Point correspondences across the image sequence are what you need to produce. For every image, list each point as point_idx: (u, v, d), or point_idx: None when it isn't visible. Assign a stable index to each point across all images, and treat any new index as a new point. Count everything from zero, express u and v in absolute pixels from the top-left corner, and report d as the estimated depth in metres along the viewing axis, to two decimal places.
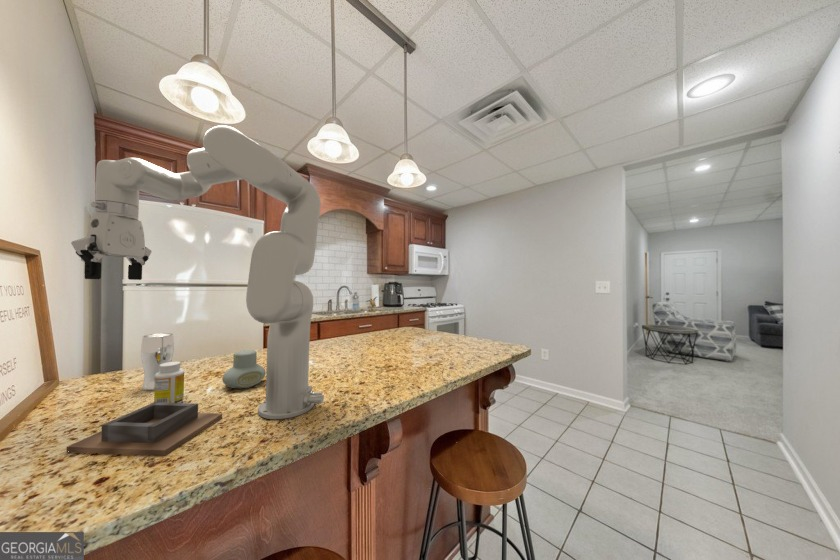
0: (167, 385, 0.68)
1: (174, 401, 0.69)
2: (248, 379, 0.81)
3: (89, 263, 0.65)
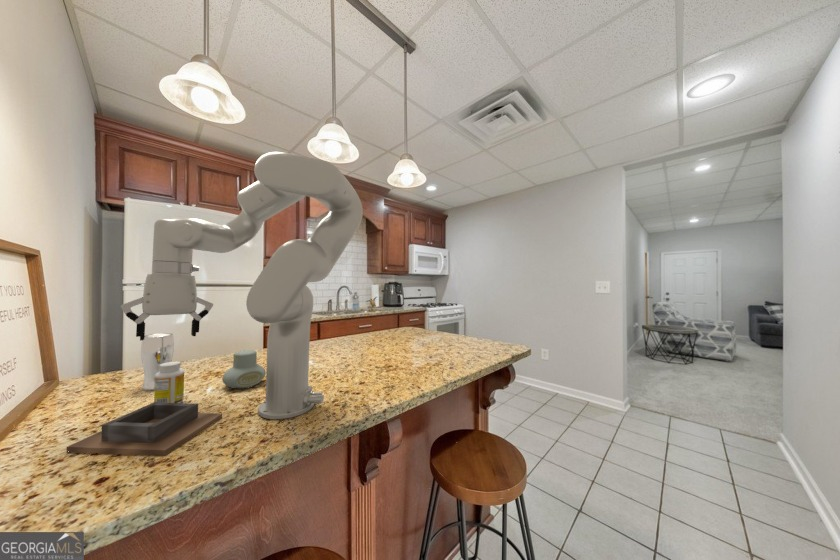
0: (167, 385, 0.68)
1: (174, 401, 0.69)
2: (248, 379, 0.81)
3: None
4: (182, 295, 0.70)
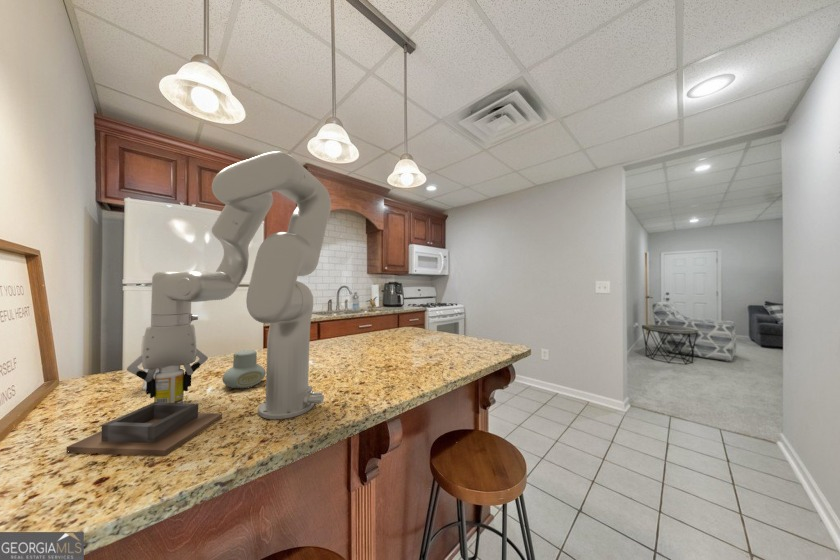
0: (167, 385, 0.68)
1: (174, 401, 0.69)
2: (248, 379, 0.81)
3: (190, 374, 0.73)
4: (181, 347, 0.70)
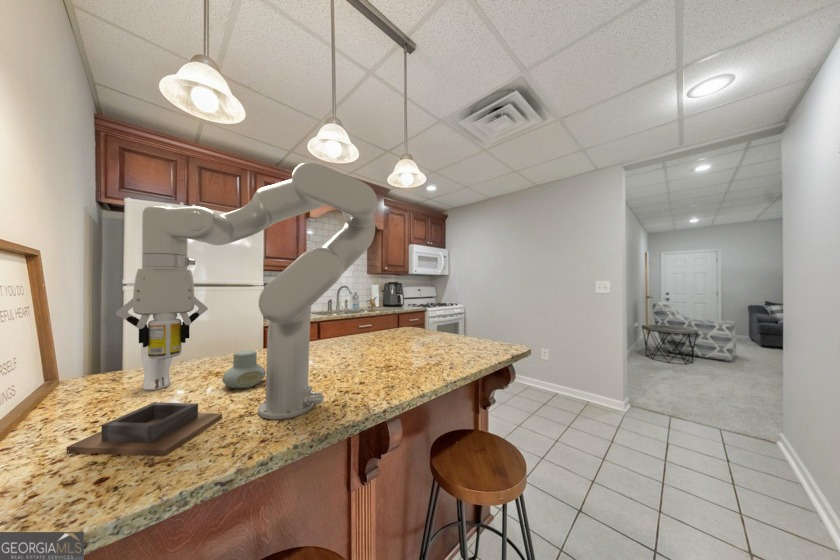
0: (161, 334, 0.60)
1: (170, 352, 0.61)
2: (248, 379, 0.81)
3: None
4: (177, 292, 0.62)
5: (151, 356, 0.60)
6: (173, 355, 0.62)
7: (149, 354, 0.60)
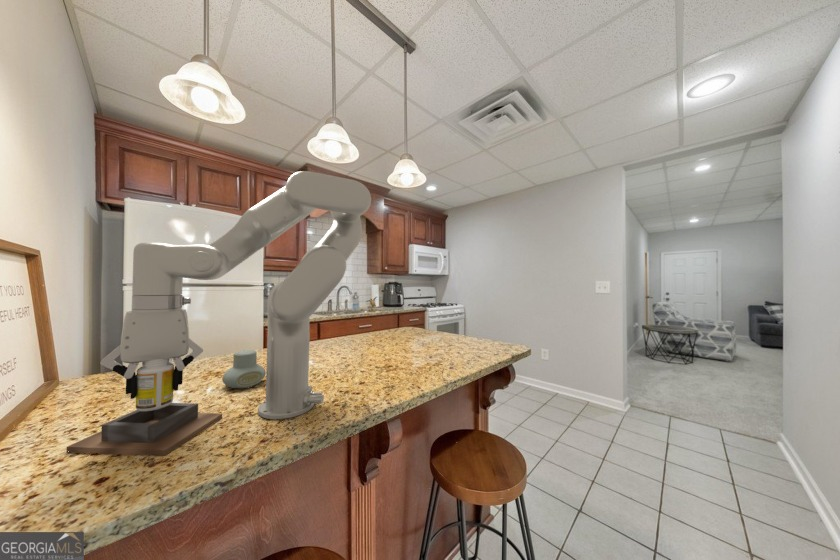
0: (151, 383, 0.55)
1: (161, 402, 0.56)
2: (248, 379, 0.81)
3: None
4: (170, 336, 0.57)
5: (139, 408, 0.54)
6: (164, 405, 0.56)
7: (137, 406, 0.55)
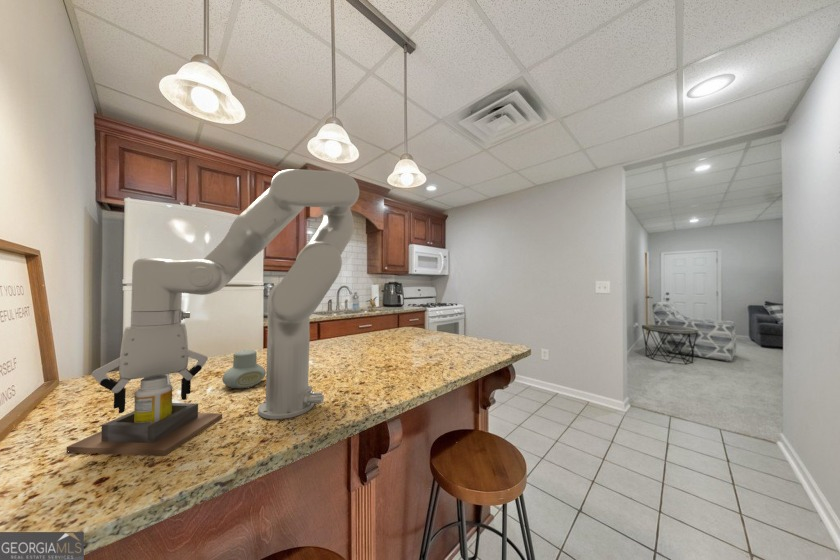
0: (149, 406, 0.55)
1: None
2: (248, 379, 0.81)
3: None
4: (169, 351, 0.57)
5: None
6: None
7: None
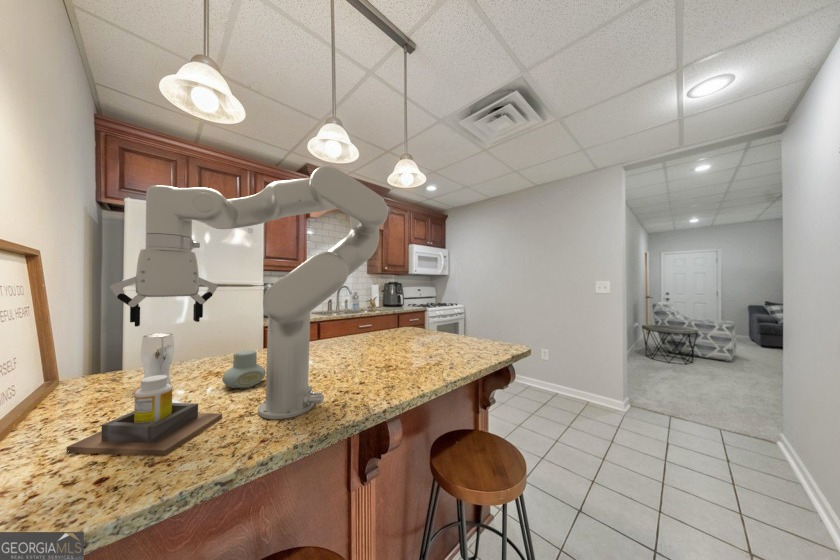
0: (149, 406, 0.55)
1: None
2: (248, 379, 0.81)
3: None
4: (182, 274, 0.61)
5: None
6: None
7: None
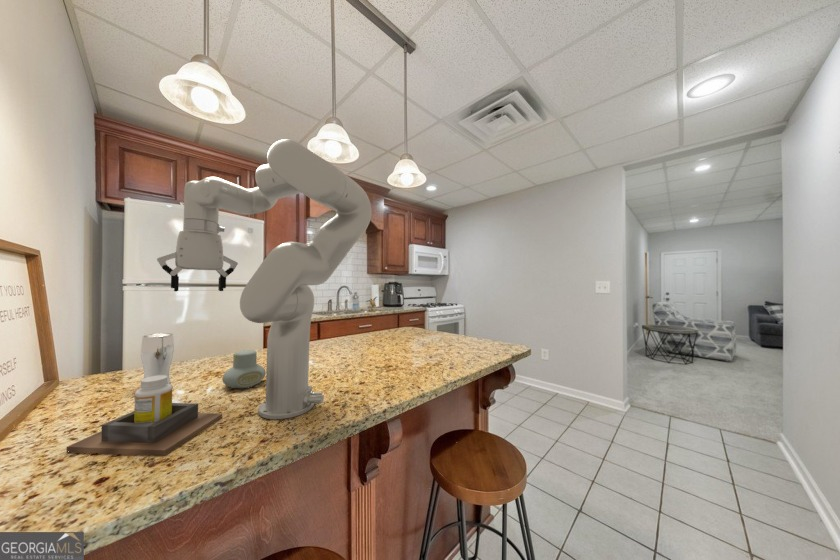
0: (150, 406, 0.55)
1: None
2: (248, 379, 0.81)
3: None
4: (210, 252, 0.76)
5: None
6: None
7: None
